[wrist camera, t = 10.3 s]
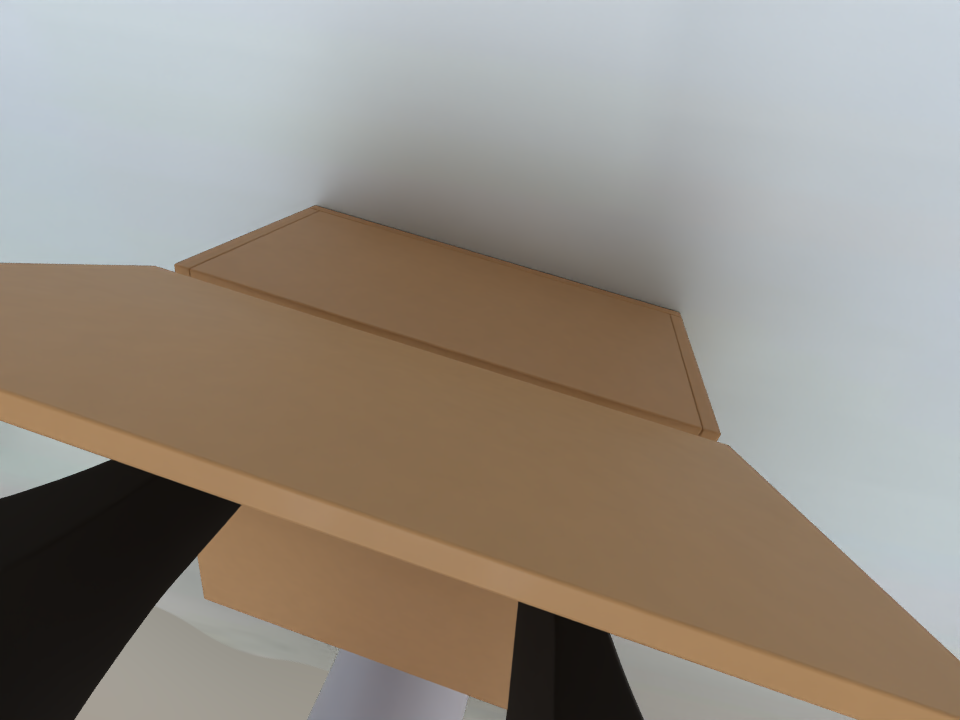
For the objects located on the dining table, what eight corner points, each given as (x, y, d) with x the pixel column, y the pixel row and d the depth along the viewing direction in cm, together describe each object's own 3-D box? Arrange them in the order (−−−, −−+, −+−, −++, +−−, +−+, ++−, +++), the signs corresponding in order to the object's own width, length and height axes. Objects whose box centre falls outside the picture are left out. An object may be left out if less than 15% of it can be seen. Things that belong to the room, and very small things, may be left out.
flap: (152, 278, 10) (154, 265, 10) (724, 458, 10) (729, 445, 9) (-391, 285, 4) (-393, 254, 4) (1042, 787, 3) (1062, 754, 3)
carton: (314, 204, 16) (148, 273, 10) (680, 312, 15) (729, 456, 9) (306, 466, 23) (202, 599, 17) (560, 552, 22) (544, 725, 16)
